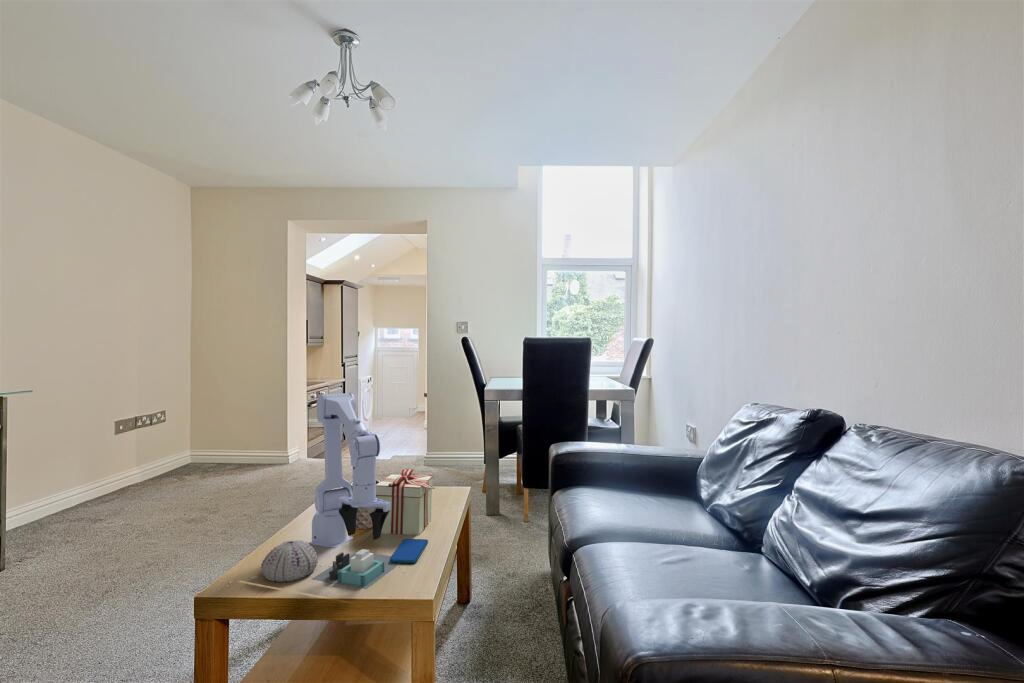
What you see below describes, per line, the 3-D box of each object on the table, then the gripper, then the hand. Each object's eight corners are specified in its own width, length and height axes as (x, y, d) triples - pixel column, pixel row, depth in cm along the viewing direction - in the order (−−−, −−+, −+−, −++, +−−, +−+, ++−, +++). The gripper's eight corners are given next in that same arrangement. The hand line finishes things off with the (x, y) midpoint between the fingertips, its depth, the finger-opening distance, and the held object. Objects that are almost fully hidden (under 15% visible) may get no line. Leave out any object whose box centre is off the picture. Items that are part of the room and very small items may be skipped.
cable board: (311, 580, 122) (311, 565, 122) (356, 552, 139) (356, 539, 139) (366, 590, 117) (366, 575, 117) (406, 560, 134) (406, 546, 134)
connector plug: (350, 579, 122) (350, 554, 122) (361, 571, 126) (361, 547, 127) (362, 581, 121) (362, 556, 121) (373, 573, 125) (373, 549, 125)
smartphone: (388, 559, 131) (404, 538, 146) (388, 563, 131) (404, 542, 146) (416, 560, 131) (428, 539, 146) (416, 564, 131) (428, 542, 146)
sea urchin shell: (326, 562, 133) (326, 532, 133) (305, 586, 120) (305, 553, 120) (276, 562, 133) (277, 532, 133) (250, 586, 120) (250, 553, 120)
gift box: (432, 536, 151) (432, 479, 152) (372, 536, 152) (372, 479, 152) (441, 517, 168) (441, 466, 169) (387, 517, 169) (387, 466, 169)
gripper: (330, 484, 125) (330, 538, 125) (379, 489, 121) (379, 545, 120) (348, 477, 132) (348, 528, 132) (395, 482, 127) (395, 535, 127)
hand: (364, 536), depth 127 cm, fingers open, 7 cm apart
